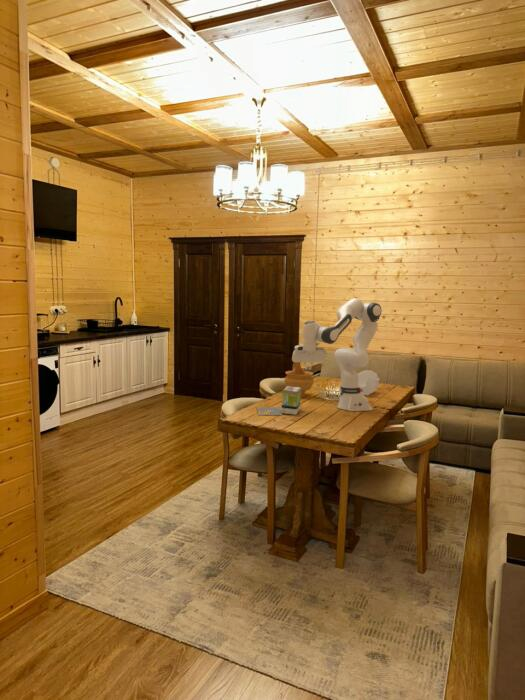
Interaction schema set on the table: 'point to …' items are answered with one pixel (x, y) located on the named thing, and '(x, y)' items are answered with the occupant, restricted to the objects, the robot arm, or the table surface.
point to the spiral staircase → (368, 382)
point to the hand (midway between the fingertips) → (308, 369)
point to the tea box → (291, 400)
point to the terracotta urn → (299, 378)
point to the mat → (275, 411)
